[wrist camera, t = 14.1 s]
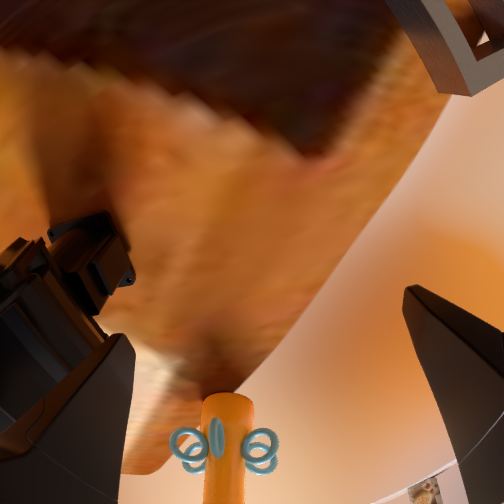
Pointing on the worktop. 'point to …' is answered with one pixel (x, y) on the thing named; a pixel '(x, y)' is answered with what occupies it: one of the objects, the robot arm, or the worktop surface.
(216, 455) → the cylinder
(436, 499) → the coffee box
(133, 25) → the worktop surface
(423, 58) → the frame
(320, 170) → the worktop surface
